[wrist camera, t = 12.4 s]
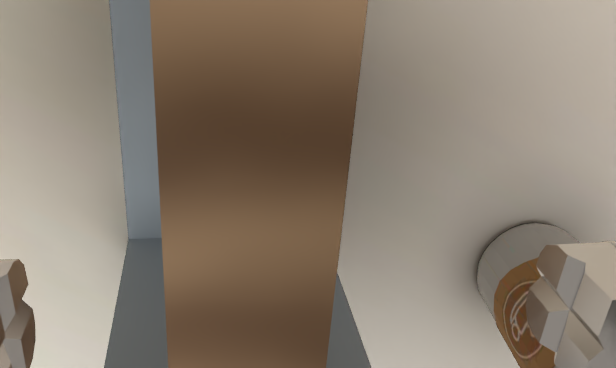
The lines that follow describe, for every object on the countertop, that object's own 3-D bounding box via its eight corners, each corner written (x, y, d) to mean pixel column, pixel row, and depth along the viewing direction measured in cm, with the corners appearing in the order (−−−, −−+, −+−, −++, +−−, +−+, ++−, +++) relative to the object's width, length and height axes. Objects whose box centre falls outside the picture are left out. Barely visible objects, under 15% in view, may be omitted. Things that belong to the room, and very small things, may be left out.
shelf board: (148, -282, 14) (132, -337, 10) (353, -255, 15) (401, -298, 11) (174, 315, 22) (169, 398, 18) (304, 308, 23) (323, 386, 19)
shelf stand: (316, 257, 33) (372, 434, 22) (133, 264, 31) (100, 460, 20) (371, -336, 21) (545, -552, 11) (82, -382, 19) (-55, -696, 9)
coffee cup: (501, 188, 33) (704, 391, 20) (611, 224, 35) (854, 425, 22) (433, 301, 36) (570, 543, 23) (539, 327, 38) (716, 557, 25)
